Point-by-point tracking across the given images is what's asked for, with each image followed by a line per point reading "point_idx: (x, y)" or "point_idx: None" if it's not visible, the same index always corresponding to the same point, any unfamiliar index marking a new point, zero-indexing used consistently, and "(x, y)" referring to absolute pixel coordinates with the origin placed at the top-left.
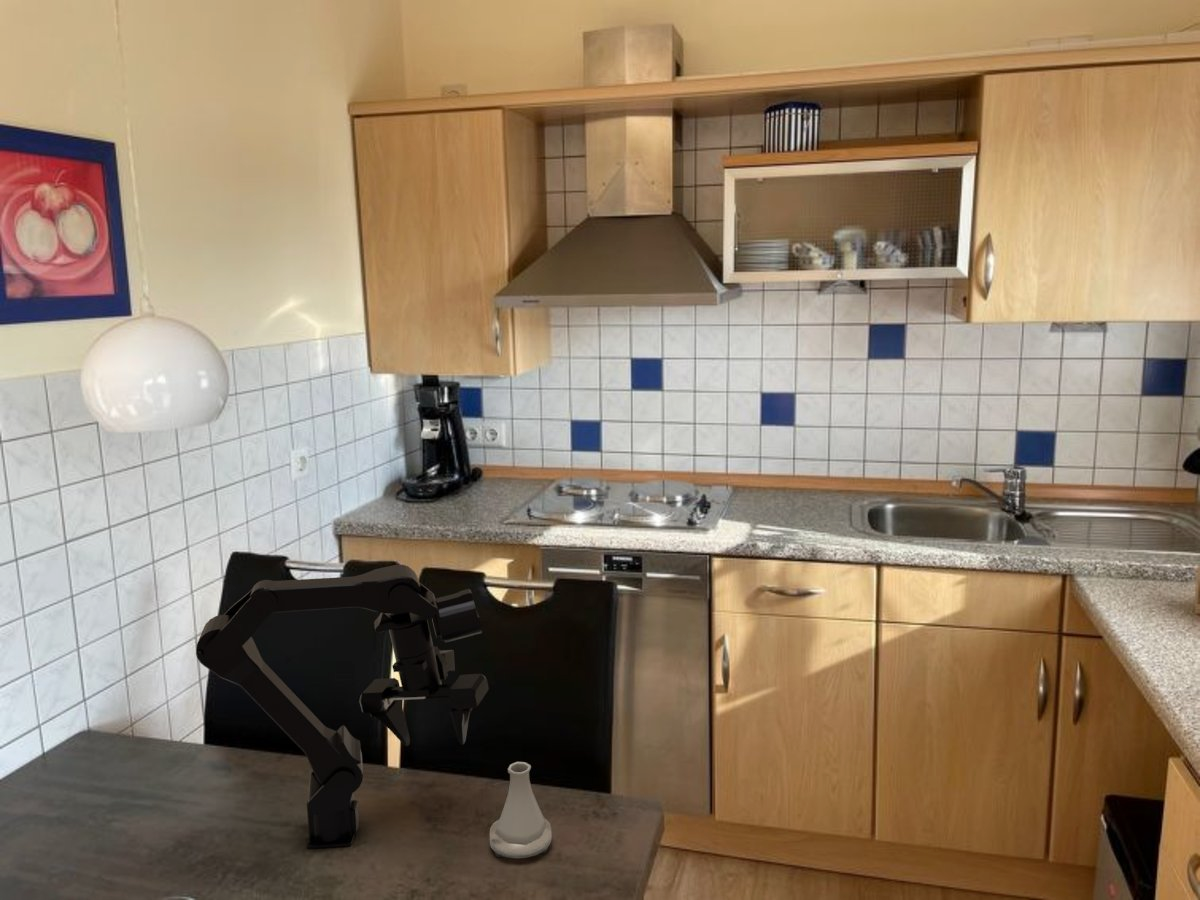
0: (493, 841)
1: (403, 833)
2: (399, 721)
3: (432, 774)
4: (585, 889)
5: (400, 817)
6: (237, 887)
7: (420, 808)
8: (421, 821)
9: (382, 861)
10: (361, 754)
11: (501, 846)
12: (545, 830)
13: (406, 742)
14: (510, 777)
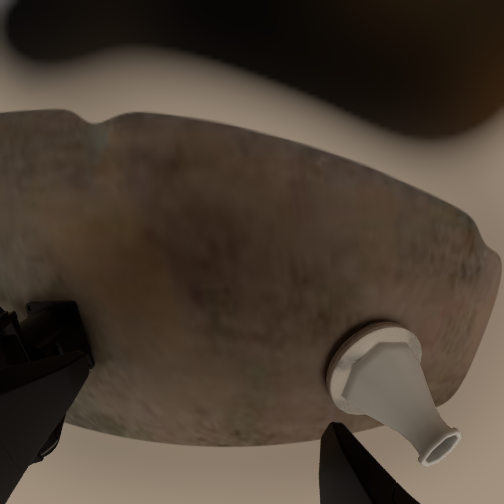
0: (336, 405)
1: (162, 339)
2: (18, 432)
3: (171, 121)
4: None
5: (140, 289)
6: None
7: (170, 258)
8: (184, 304)
9: (156, 401)
10: (3, 361)
11: (347, 412)
12: None
13: (81, 383)
14: (416, 449)
